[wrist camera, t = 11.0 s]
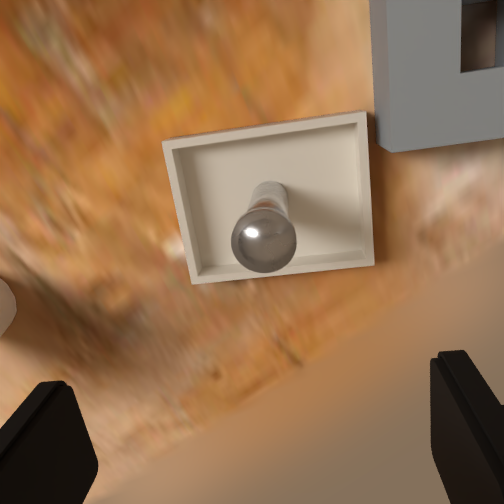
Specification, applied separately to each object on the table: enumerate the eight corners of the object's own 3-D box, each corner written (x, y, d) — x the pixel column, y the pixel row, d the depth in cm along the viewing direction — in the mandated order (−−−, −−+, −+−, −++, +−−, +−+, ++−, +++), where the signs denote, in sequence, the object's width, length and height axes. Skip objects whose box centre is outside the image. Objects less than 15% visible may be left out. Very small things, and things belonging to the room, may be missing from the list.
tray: (360, 109, 31) (366, 111, 28) (368, 253, 35) (374, 265, 32) (170, 137, 32) (161, 141, 30) (198, 271, 36) (191, 284, 34)
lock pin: (290, 172, 32) (292, 206, 23) (296, 218, 33) (300, 269, 24) (242, 178, 33) (225, 215, 23) (250, 224, 34) (236, 276, 24)
